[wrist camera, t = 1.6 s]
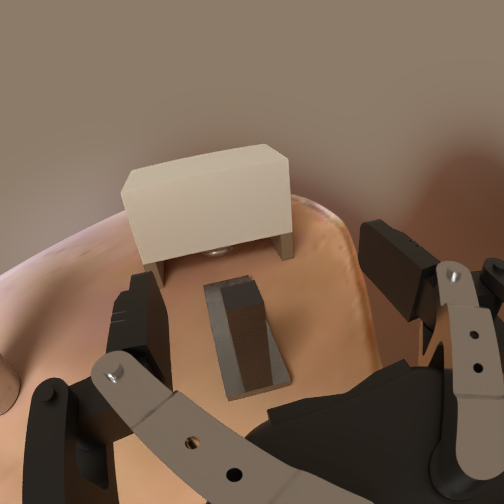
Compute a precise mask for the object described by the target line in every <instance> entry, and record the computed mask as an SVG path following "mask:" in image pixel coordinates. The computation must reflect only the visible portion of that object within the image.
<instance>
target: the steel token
mask: <svg viewBox="0 0 504 504" xmlns="http://www.w3.org/2000/svg"><path fill="white" fill-rule="evenodd" d="M232 248H233V245H230V246H225V247H220V248H216V249H211V250H207V251H202V252H201V254H202V255H203V256H205V257H210V258H215V257H220V256H223V255H226V254H227V253H229V252H230V251H231V250H232Z"/></svg>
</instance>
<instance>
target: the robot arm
mask: <svg viewBox="0 0 504 504" xmlns="http://www.w3.org/2000/svg"><path fill="white" fill-rule="evenodd" d="M358 260H359V265H360V268H361V269H362V271H363V272H364V273H365V274H366V276H367V277H368V278H369V279H370V280H371V281H372V282H373V283H374V284H375V285H376V286H377V287H378V289H379V290H380V291H381V292H382V293H383V294H384V295H385V296H386V298H387V299H388V300H389V301H390V302H391V303H392V304H393V305H394V307H395V308H396V309H397V310H398V311H399V312H400V313H401V314H402V316H403V317H404V318H405V319H406V320H407V322H410V321H412V320H415V319H417V318H419V317H420V319H421V323H420V327H419V361H418V367H410V366H409V365H408V363H407V362H406V361H405V359H403V360H401V361H399V362H396V363H394V364H392V365H390V366H388V367H386V368H383V369H381V370H378V371H376V372H374V373H373V374H372V375H370V376H369V377H368V378H366V379H365V380H364V381H362V382H361V383H360V384H358V385H357V386H356V387H354V388H353V389H351V390H350V391H348V392H346V393H344V394H337V395H330V396H322V397H313V398H304V399H301V400H298V401H295V402H292V403H288V404H285V405H282V406H278V407H275V408H271V409H268V410H267V413H268V419H269V420H267V421H266V422H264V423H262V424H260V425H259V426H258V427H256V428H255V429H253V430H252V431H251V432H250V433H249V434H248V435H247V436H246V437H245V438H243V437H242V436H240V435H239V434H237V433H236V432H234V431H233V430H231V429H230V428H228V427H227V426H225V425H224V424H223V423H221V422H220V421H218V420H217V419H216V418H214V417H213V416H212V415H210V414H209V413H207V412H206V411H205V410H203V409H202V408H201V407H199V406H198V405H197V404H196V403H194V402H193V401H192V400H190V399H189V398H188V397H187V396H185V395H184V394H183V393H181V392H179V391H177V390H176V391H175V392H173V385H172V373H171V359H170V343H169V322H168V314H167V310H166V306H165V303H164V301H163V298H162V295H161V293H160V290H159V287H158V284H157V282H156V279H155V276H154V274H153V272H152V271H148V272H144V273H139V274H135V275H132V276H131V281H130V287H129V290H128V291H123V292H121V293H120V295H119V296H118V298H117V299H116V300H115V302H114V306H113V312H112V313H113V315H112V317H111V324H110V329H109V335H108V342H107V348H106V354H105V355H104V356H102V357H101V358H100V359H98V360H97V362H96V363H95V364H94V366H93V368H92V371H91V376H90V377H88V378H86V379H84V380H82V381H79V382H77V383H75V384H73V385H70V386H68V385H67V384H66V383H65V382H64V381H63V380H62V379H60V378H49V379H47V380H45V381H43V382H42V383H40V384H39V385H38V386H37V388H36V389H35V391H34V393H33V395H32V399H31V405H30V411H29V418H28V425H27V432H26V441H25V451H24V464H23V486H22V504H119V499H118V491H117V482H116V473H115V462H114V448H113V442H114V441H117V440H119V439H122V438H124V437H126V436H129V435H131V434H133V433H135V434H136V436H137V437H138V438H139V439H140V440H141V441H142V442H143V443H144V444H145V445H146V446H147V447H148V448H149V449H150V450H151V451H152V452H153V453H154V454H155V455H156V456H157V457H158V458H159V459H160V460H161V461H162V462H163V463H164V464H165V465H166V466H167V467H168V468H170V469H171V470H172V471H173V472H174V473H175V474H176V475H177V476H178V477H180V478H181V479H182V480H183V481H184V482H185V483H186V484H188V485H189V486H190V487H191V488H192V489H193V490H195V491H196V492H197V493H198V494H200V495H201V496H202V497H203V498H205V499H206V500H207V502H206V504H504V383H503V375H502V372H503V373H504V322H503V321H502V320H501V319H500V318H499V317H498V316H497V314H498V312H499V310H500V308H501V305H502V303H503V302H504V261H502V260H500V259H497V258H488V259H486V260H485V262H484V265H483V267H482V271H474V272H470V271H469V270H468V269H467V268H466V267H465V266H463V265H462V264H460V263H457V262H453V261H444V262H440V261H439V260H437V259H436V258H435V257H434V256H432V255H431V254H430V253H429V252H427V251H426V250H425V249H424V248H422V247H421V246H419V244H417V243H416V242H415V241H412V239H411V238H410V237H408V236H407V235H406V234H404V233H403V232H400V231H397V230H395V229H393V228H392V227H390V226H389V225H387V224H386V223H385V222H383V221H382V220H380V219H377V220H373V221H369V222H364V223H362V225H361V227H360V240H359V253H358ZM19 389H20V380H19V377H18V375H17V374H16V372H15V371H14V370H13V369H12V368H11V366H10V365H9V364H8V363H7V362H6V360H5V359H4V358H3V356H2V355H1V354H0V415H1V414H3V413H5V412H6V411H7V410H8V409H9V408H10V407H11V406H12V405H13V403H14V402H15V400H16V398H17V396H18V393H19Z"/></svg>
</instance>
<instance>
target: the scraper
mask: <svg viewBox="0 0 504 504" xmlns="http://www.w3.org/2000/svg"><path fill="white" fill-rule="evenodd" d="M203 286H204V291H205V296H206V302H207V307H208V312H209V317H210V322H211V327H212V332H213V337H214V342H215V347H216V351H217V356H218V361H219V365H220V370H221V374H222V379H223V383H224V388H225V392H226V396H227V399H228V401H232V400H237V399H241V398H245V397H249V396H253V395H257V394H261V393H265V392H268V391H272V390H276V389H279V388H283V387H286V386H290V385H291V378H290V376H289V374H288V371H287V369H286V366H285V364H284V362H283V359H282V357H281V354H280V352H279V349H278V347H277V345H276V342H275V340H274V337H273V335H272V332H271V330H270V328H269V325H268V323H267V320H266V317H265V308H264V301H263V299H262V297H261V294H260V292H259V290H258V287H257V285H256V282H255V280H253V281H250V278H249V276H248V275H247V276H242V277H238V278H233V279H229V280H225V281H220V282H216V283H211V284H207V285H203Z"/></svg>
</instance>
